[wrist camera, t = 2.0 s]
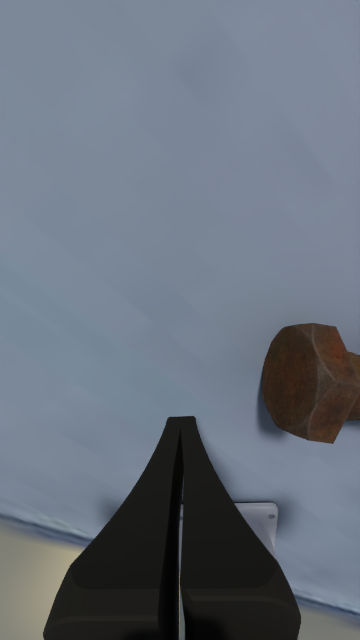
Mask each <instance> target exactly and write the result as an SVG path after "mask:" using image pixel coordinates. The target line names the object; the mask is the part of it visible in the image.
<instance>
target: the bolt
mask: <svg viewBox="0 0 360 640" xmlns="http://www.w3.org/2000/svg"><path fill="white" fill-rule="evenodd" d="M262 391H263V398H264V402H265V404H266V407H267V409H268V412H269V413H270V415H271V417H272V419H273V421H274V423H275V425H276V426H277V427H279V428H281V429H283V430H285V431H287V432H289V433H291V434H293V435H295V436H298V437H301V438H303V439H306V440H310V441H317V442H324V443H331V444H333V443H334V441H335V439H336V437H337V435H338V433H339V432H340V430H341V428H342V426H343V424H344V422H345V420H360V355H356V354H354V353H351V352H348V351H347V350H346V348H345V345H344V343H343V341H342V339H341V337H340V335H339V332H338V330H337V328H336V327H334V326H328V325H322V324H316V323H308V324H298V325H293V326H288V327H284V328H282V329H281V330H280V332H279V333H278V334H277V335H276V337H275V338H274V339H273V341H272V342H271V344H270V347H269V350H268V353H267V355H266V358H265V362H264V369H263V383H262Z"/></svg>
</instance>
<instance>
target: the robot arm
mask: <svg viewBox="0 0 360 640" xmlns="http://www.w3.org/2000/svg"><path fill="white" fill-rule="evenodd" d="M183 475H184V495H183V504H181V500H182V488H183ZM277 519H278V508H277V505H276V504H274V503H234V502H233V501H232V499H231V498H230V496H229V494H228V493H227V491H226V490H225V488H224V486H223V484H222V483H221V481H220V479H219V477H218V475H217V474H216V472H215V470H214V468H213V466H212V464H211V462H210V460H209V457H208V455H207V453H206V450H205V448H204V446H203V443H202V441H201V438H200V435H199V432H198V429H197V425H196V418H195V417H194V416H183V417H169V418H168V419H167V422H166V425H165V428H164V431H163V433H162V436H161V438H160V441H159V443H158V445H157V447H156V449H155V451H154V453H153V455H152V457H151V459H150V461H149V463H148V464H147V466H146V468H145V470H144V472H143V473H142V475H141V477H140V478H139V480H138V482H137V483H136V485H135V486H134V488H133V489H132V491H131V492H130V494H129V495H128V497H127V498H126V499H125V501H124V502H123V504H122V505H121V506H120V508H119V509H118V510H117V512H116V513H115V514H114V516H113V517H112V518H111V519H110V521H109V522H108V523H107V524H106V525H105V527H104V528H103V529H102V530H101V532H100V533H99V534H98V535H97V536H96V538H95V539H94V540H93V541H92V542H91V543H90V544H89V545H88V546H87V548H86V549H85V550H84V551H83V552H82V553H81V554H80V555H79V556H78V558H76V560H75V561H74V562H73V563H72V564H71V565H70V568H69V569H68V571H67V573H66V575H65V577H64V579H63V581H62V584H61V586H60V588H59V591H58V593H57V595H56V597H55V600H54V603H53V606H52V609H51V611H50V614H49V617H48V620H47V623H46V626H45V628H44V632H43V637H44V640H299V637H298V634H299V629H300V624H301V615H300V611H299V608H298V605H297V602H296V600H295V597H294V595H293V592H292V590H291V588H290V586H289V583H288V581H287V579H286V577H285V575H284V573H283V571H282V569H281V567H280V565H279V563H278V562H277V559H276V555H275V551H274V547H275V538H276V528H277ZM179 570H180V630H179ZM179 632H180V633H179ZM179 634H180V635H179Z"/></svg>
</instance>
